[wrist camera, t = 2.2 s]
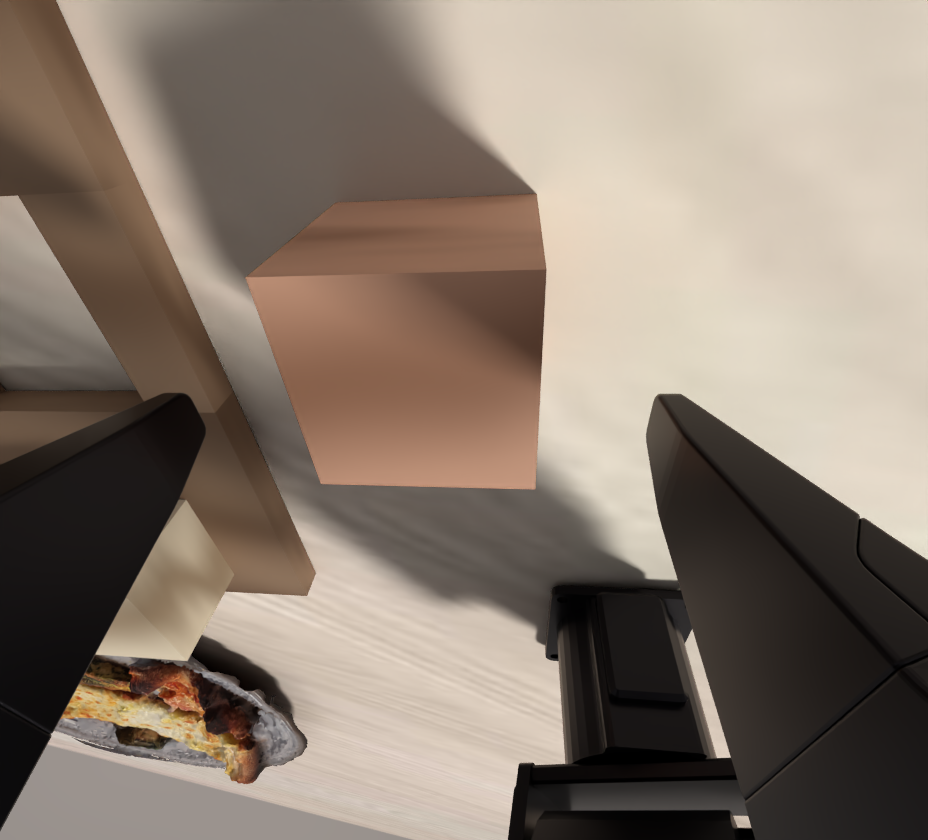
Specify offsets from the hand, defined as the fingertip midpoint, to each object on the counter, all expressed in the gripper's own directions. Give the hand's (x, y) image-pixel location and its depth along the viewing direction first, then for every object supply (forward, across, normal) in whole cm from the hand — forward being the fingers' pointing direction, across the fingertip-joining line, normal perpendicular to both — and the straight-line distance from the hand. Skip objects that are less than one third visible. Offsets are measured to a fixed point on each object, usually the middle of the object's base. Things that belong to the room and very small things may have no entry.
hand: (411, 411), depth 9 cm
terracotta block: (+5, 0, 0) cm, 5 cm away
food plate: (+6, +25, +30) cm, 39 cm away
